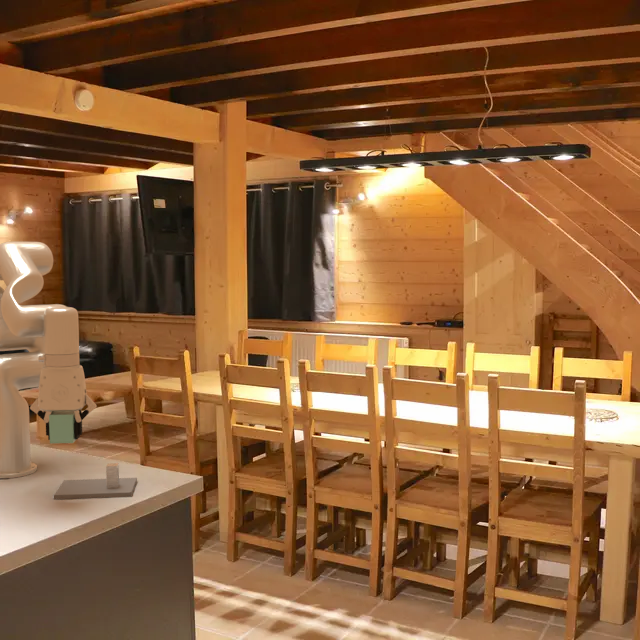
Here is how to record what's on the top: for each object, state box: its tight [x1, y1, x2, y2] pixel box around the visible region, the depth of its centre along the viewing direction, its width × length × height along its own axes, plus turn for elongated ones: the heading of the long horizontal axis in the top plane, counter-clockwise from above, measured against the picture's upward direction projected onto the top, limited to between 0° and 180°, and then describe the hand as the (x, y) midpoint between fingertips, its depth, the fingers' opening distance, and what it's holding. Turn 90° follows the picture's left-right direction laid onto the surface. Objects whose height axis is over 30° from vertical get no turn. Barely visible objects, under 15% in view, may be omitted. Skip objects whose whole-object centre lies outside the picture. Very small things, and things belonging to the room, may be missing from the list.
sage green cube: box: [49, 411, 77, 444], centre depth 177 cm, size 5×5×7 cm
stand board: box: [53, 477, 138, 500], centre depth 187 cm, size 18×12×1 cm, turn 97°
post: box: [105, 462, 120, 489], centre depth 187 cm, size 3×3×6 cm
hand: (64, 437), depth 177 cm, fingers closed on sage green cube, 5 cm apart
